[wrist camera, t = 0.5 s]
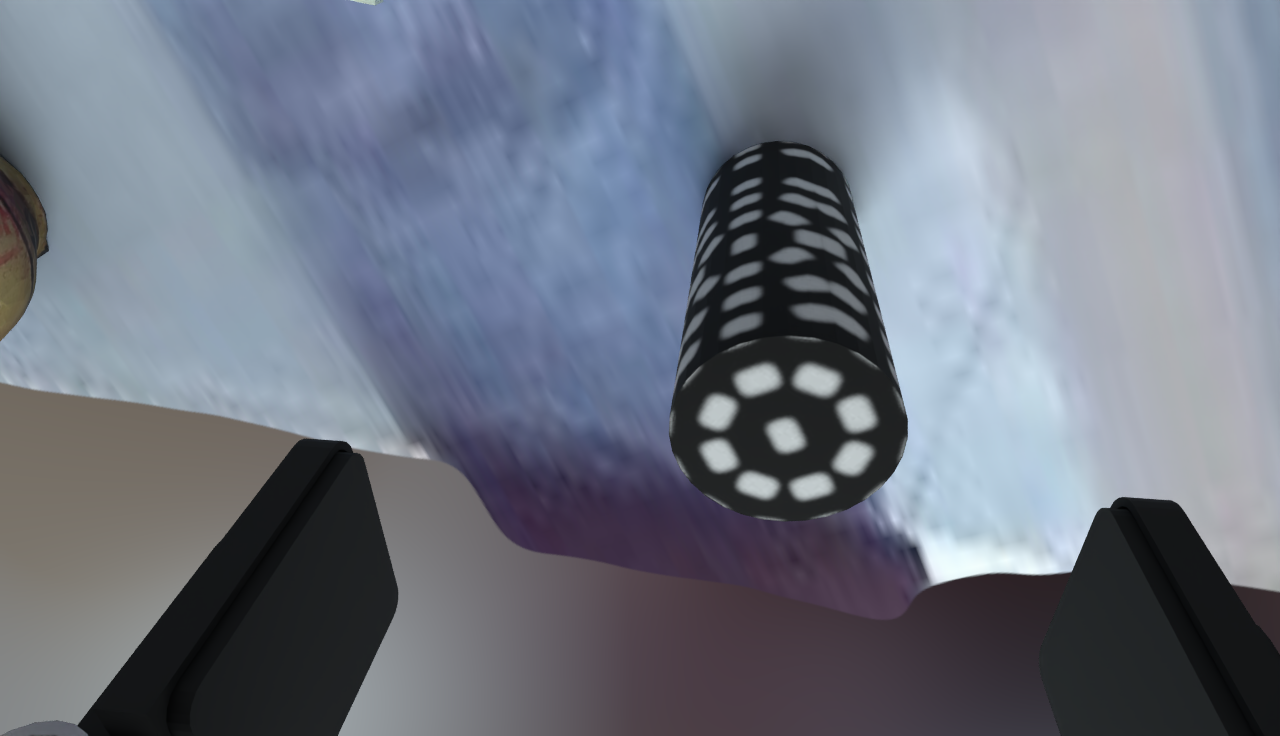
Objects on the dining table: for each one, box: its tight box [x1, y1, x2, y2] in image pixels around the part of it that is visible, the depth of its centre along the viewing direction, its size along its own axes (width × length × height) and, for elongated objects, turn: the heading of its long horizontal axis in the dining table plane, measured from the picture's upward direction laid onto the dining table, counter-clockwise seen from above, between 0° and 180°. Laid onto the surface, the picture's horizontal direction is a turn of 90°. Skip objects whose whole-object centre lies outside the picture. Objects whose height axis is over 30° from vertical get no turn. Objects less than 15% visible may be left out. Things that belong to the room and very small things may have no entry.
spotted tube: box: [669, 141, 908, 521], centre depth 36 cm, size 8×8×20 cm
